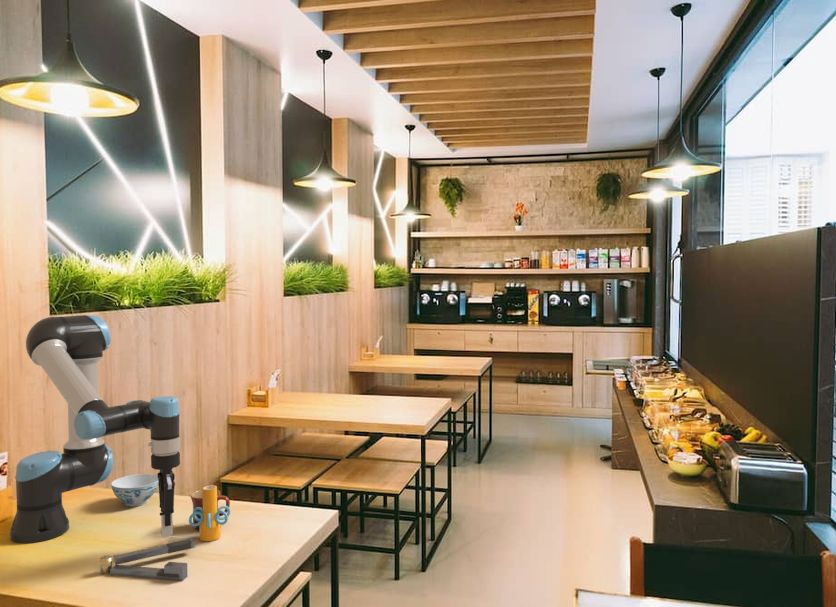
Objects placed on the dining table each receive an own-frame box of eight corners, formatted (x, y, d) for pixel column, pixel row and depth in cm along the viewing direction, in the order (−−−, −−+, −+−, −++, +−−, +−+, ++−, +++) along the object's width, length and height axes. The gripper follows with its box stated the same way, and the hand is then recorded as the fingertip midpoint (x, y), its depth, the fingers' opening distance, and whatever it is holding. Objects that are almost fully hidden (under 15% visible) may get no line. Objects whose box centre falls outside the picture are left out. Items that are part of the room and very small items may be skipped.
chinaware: (128, 514, 204) (128, 490, 203) (102, 505, 212) (101, 482, 212) (168, 501, 216) (168, 478, 216) (142, 492, 224) (142, 471, 224)
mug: (185, 531, 190) (185, 497, 190) (198, 520, 199) (198, 488, 198) (223, 532, 189) (223, 499, 188) (235, 521, 198) (234, 489, 197)
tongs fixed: (97, 574, 162) (97, 559, 162) (104, 569, 165) (104, 555, 165) (182, 581, 158) (181, 566, 158) (187, 576, 161) (187, 561, 161)
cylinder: (238, 533, 188) (238, 484, 188) (216, 547, 178) (216, 495, 178) (204, 528, 192) (204, 480, 192) (181, 541, 182) (180, 490, 182)
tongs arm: (115, 565, 163) (115, 558, 163) (114, 561, 165) (113, 555, 165) (194, 547, 174) (194, 541, 174) (192, 544, 176) (192, 538, 176)
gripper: (147, 449, 179) (149, 531, 180) (154, 460, 168) (156, 547, 169) (175, 445, 183) (176, 525, 184) (184, 455, 172) (185, 541, 173)
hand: (167, 535), depth 176 cm, fingers closed
